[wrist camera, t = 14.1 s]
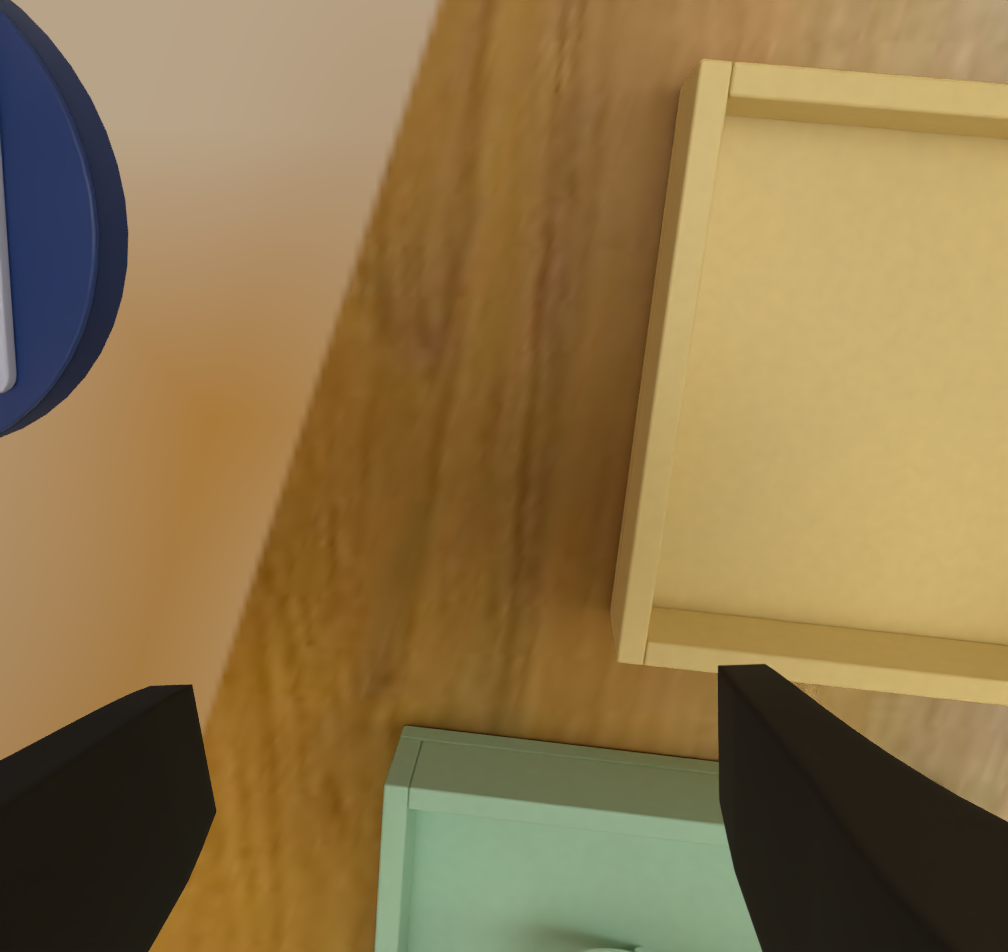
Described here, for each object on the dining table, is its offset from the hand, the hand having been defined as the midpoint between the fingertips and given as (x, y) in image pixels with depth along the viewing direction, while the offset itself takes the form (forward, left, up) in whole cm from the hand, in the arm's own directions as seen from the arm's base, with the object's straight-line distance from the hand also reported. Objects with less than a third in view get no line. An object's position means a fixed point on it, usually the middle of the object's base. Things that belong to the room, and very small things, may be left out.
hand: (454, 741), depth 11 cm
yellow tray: (+9, +4, -9) cm, 14 cm away
